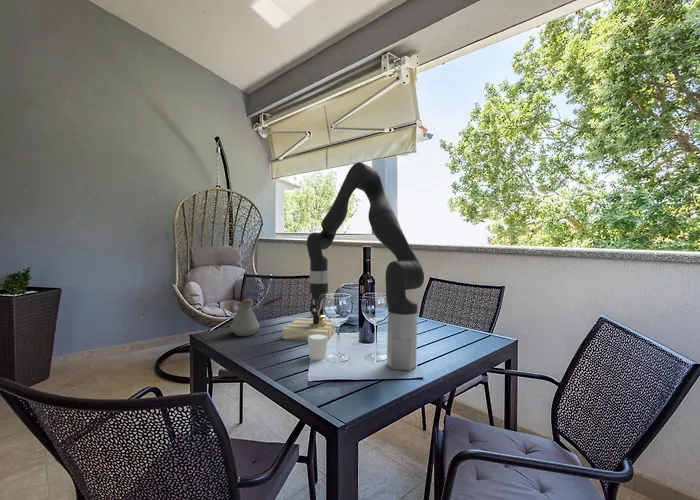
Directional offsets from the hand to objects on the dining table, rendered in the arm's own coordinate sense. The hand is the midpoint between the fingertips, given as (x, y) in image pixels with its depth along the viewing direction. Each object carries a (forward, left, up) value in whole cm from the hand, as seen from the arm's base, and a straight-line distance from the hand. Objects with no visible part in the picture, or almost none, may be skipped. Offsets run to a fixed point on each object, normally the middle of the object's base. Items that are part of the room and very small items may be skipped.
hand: (318, 321), depth 143 cm
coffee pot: (-4, +25, -5) cm, 26 cm away
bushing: (0, 0, -5) cm, 5 cm away
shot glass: (-25, -7, -5) cm, 27 cm away
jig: (0, +3, -5) cm, 6 cm away
